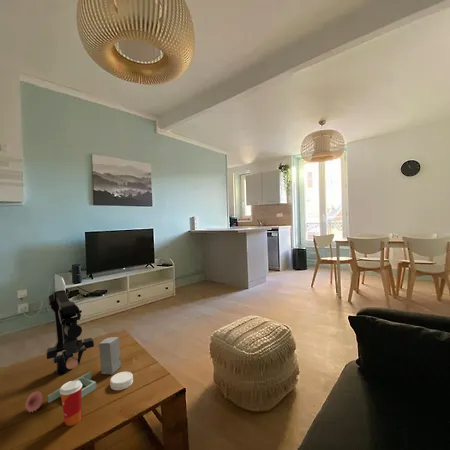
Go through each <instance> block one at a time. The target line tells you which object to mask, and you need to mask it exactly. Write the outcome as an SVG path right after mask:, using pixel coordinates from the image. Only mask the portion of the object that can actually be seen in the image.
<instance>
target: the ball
mask: <svg viewBox="0 0 450 450" xmlns="http://www.w3.org/2000/svg"><path fill="white" fill-rule="evenodd" d="M77 366H78V357H75V356H73V357H71V358H69V359H68V360H67V361H66V367H67V368H68V369H72V370H73V369H75V368H76V367H77Z"/></svg>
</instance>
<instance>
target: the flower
mask: <svg viewBox="0 0 450 450" xmlns="http://www.w3.org/2000/svg"><path fill="white" fill-rule="evenodd" d="M27 397H28V398H26V399H25V400H26V402H24V404H25V405H24V408H25V409H24V411H26V413H28V412H29V414H31V412H32V414H33V413H34V411H35V412H37V410H38V409H40V407H41V405H42V404H43V400H44V399H43V397H44V396H43V393H41V391H38V390H37V391H33V392H30V395H28V396H27Z"/></svg>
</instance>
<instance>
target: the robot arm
mask: <svg viewBox="0 0 450 450" xmlns="http://www.w3.org/2000/svg"><path fill="white" fill-rule="evenodd" d="M47 306H49V309H50V310H51V311H52V313H53V315H54V316H53V317H54V327H55V335H56V343H55V344H54V346H52V347H48V348H47V349H46V360H49V359H51V360H52V362H53V364H55V365H56V369H55V370H54V371H53V373H55V374H57V375H60V376H61V375H64V374H66V373H68V372H70V371H72V370H73V369H68V368H67V367H66V361H67V360H68V359H69V358H71V357H74V354H77V359H78V364H77V366H79V365H80V364H81V360H82V356H83V355H84V354H83V353H84V352H85V351H87V349H91V348H93V347H95V343H94V339H93V338H92V337H88V338H85V339H78V338H80V336H81V334H82V332H83V329H82V327H81V326H80V324H78V321H79V320H81V317H82V314H81V309H80V307H79V306H78V305H77V304H76V303H75V302H74V301H70V299H69V298H68V293H67V292H66V290H65V289H61V290H57V291H56V290H55V291H54V292H53V293H52V294H50V295H49V296H48V297H47Z"/></svg>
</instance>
